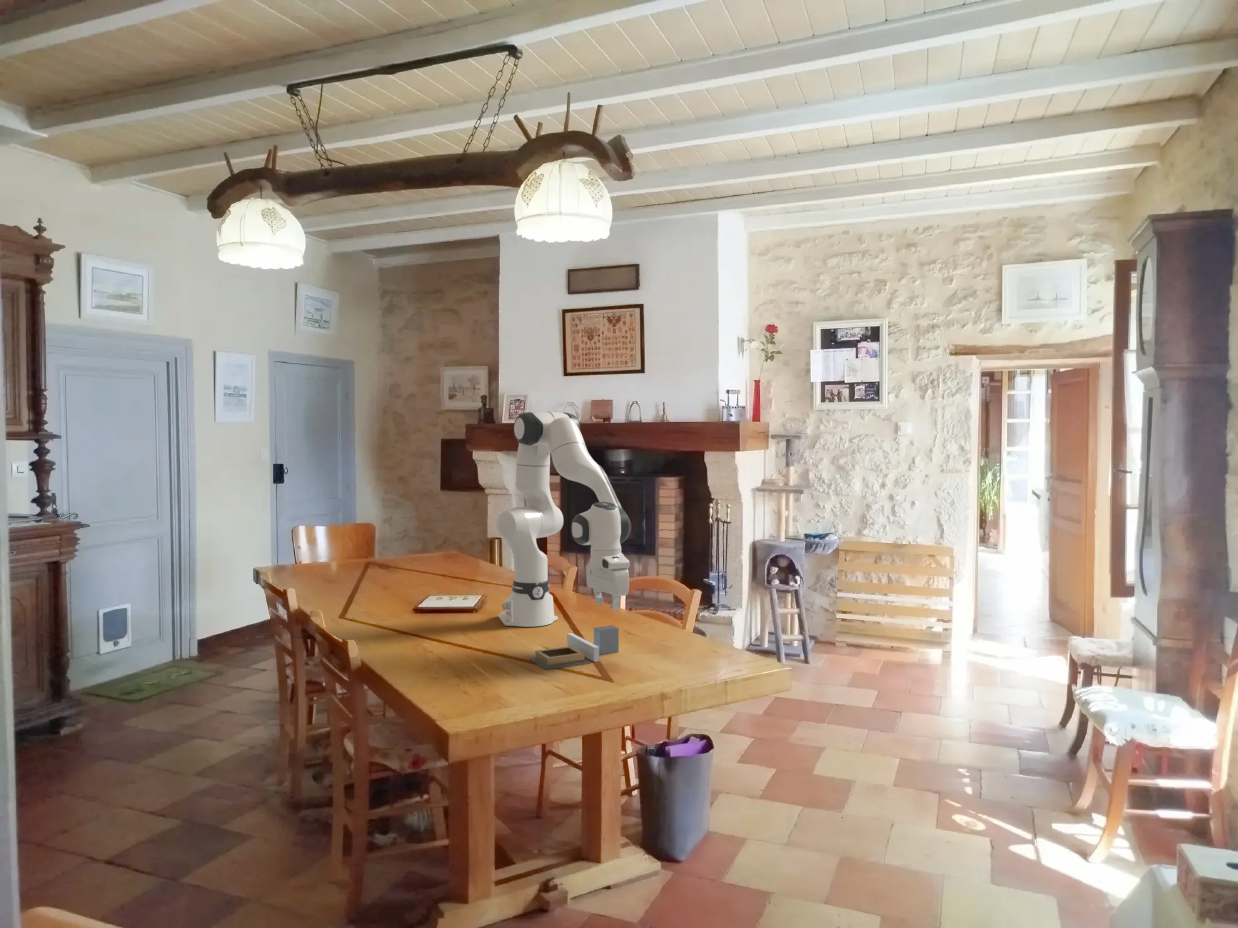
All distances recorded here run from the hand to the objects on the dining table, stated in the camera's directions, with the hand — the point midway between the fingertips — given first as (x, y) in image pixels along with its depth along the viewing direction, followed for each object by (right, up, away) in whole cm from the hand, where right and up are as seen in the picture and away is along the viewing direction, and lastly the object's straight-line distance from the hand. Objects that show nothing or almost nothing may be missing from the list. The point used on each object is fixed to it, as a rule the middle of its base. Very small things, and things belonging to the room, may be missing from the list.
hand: (606, 606), depth 240 cm
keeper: (-13, -14, -9) cm, 21 cm away
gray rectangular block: (0, -13, +1) cm, 13 cm away
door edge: (-7, -13, -2) cm, 15 cm away
